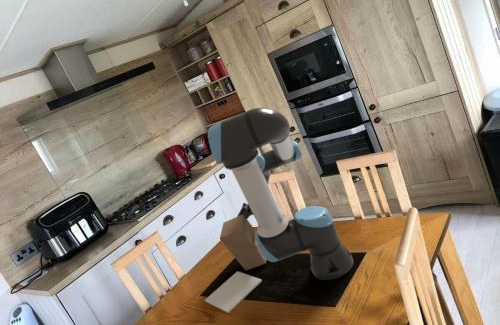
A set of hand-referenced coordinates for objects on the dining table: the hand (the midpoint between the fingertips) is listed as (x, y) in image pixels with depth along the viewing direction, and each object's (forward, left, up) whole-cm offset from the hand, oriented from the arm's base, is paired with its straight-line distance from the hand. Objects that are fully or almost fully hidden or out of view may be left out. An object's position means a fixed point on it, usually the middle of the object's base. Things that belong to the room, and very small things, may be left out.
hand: (246, 243), depth 154 cm
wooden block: (0, -1, -9) cm, 9 cm away
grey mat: (-4, +16, -10) cm, 20 cm away
